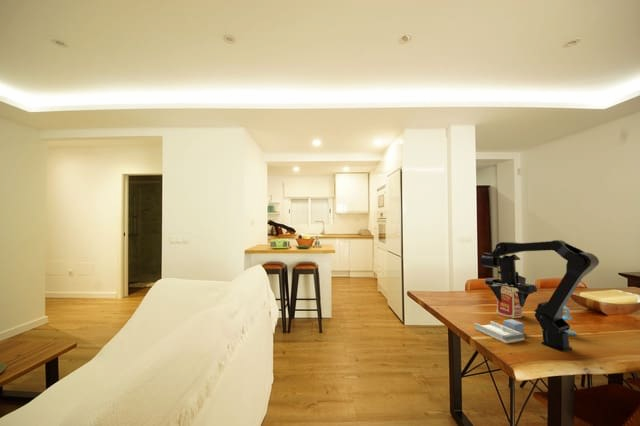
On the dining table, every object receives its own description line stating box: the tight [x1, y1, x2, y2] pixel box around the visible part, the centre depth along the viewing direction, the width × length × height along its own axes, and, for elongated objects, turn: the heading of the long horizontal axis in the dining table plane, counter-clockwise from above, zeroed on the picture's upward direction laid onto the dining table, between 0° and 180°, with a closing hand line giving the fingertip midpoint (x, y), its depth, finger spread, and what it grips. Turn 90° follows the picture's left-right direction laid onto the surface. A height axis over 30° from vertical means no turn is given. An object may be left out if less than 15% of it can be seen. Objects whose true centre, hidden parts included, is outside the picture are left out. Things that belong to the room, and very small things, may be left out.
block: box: [502, 318, 525, 335], centre depth 104 cm, size 5×5×4 cm
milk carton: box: [496, 283, 523, 319], centre depth 125 cm, size 9×9×20 cm
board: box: [474, 320, 525, 344], centre depth 101 cm, size 14×10×2 cm
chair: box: [562, 305, 577, 336], centre depth 104 cm, size 8×8×12 cm
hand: (510, 304), depth 105 cm, fingers open, 9 cm apart
